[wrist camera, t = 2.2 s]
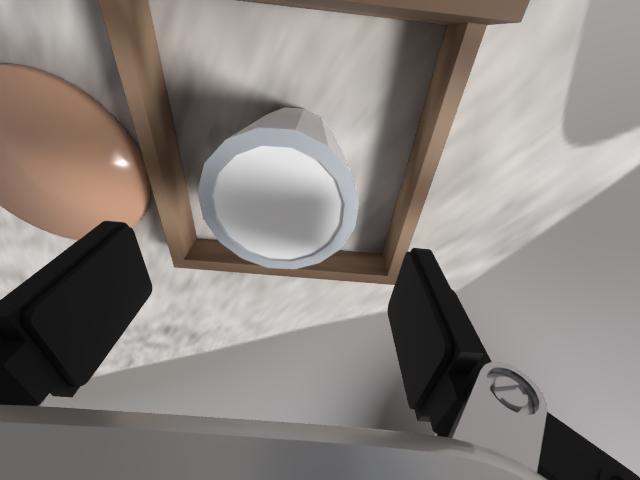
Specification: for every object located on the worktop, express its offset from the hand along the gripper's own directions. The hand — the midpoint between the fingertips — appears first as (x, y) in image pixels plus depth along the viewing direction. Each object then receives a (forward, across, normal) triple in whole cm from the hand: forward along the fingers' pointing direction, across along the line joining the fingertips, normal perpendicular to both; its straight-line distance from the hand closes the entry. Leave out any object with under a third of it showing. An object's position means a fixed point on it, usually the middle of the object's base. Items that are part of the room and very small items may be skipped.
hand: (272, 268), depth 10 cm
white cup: (+10, 0, -1) cm, 10 cm away
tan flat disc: (+10, +15, +1) cm, 18 cm away
